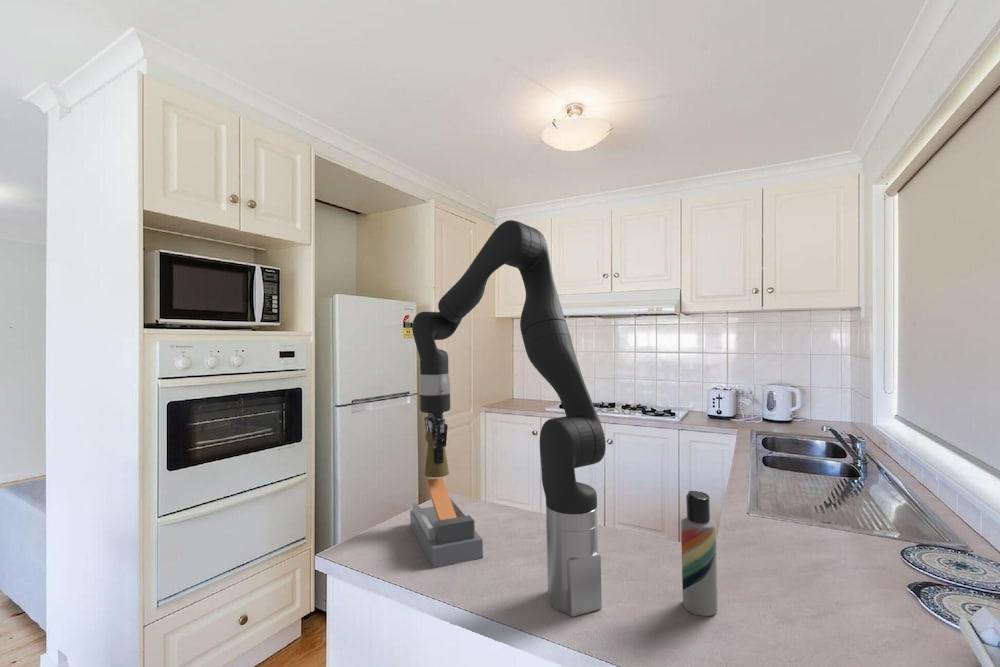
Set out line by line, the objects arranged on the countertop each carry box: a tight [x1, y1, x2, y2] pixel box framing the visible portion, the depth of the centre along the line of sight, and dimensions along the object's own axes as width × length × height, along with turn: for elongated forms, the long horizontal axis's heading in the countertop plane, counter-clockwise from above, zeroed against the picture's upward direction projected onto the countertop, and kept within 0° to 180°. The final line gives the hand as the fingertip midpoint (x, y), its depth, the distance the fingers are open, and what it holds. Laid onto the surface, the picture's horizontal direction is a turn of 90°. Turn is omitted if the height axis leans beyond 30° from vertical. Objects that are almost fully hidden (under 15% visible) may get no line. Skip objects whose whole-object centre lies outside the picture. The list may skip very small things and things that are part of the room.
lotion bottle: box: [680, 490, 719, 617], centre depth 82 cm, size 6×6×20 cm
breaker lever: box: [426, 477, 457, 521], centre depth 112 cm, size 17×4×1 cm, turn 23°
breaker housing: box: [409, 496, 484, 569], centre depth 111 cm, size 24×11×8 cm, turn 22°
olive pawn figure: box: [424, 430, 450, 478], centre depth 117 cm, size 6×6×11 cm
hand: (436, 460), depth 117 cm, fingers closed on olive pawn figure, 4 cm apart
